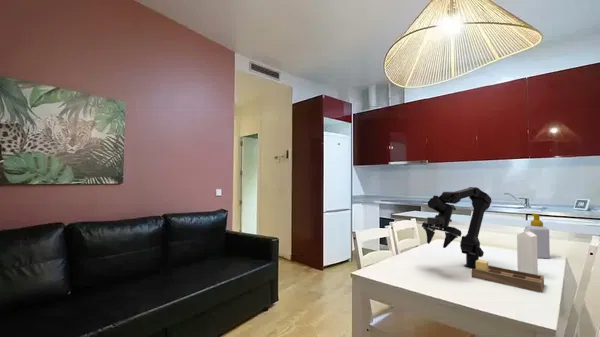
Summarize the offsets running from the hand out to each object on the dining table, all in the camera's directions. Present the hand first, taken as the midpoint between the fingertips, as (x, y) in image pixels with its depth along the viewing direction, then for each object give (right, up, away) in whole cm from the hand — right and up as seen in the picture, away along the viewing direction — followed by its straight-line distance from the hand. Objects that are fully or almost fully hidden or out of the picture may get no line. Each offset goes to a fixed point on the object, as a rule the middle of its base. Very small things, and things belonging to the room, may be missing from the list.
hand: (435, 245), depth 137 cm
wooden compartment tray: (+28, -13, -9) cm, 32 cm away
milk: (+45, -14, 0) cm, 47 cm away
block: (+20, -11, -5) cm, 23 cm away
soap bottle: (+75, -15, +31) cm, 83 cm away
